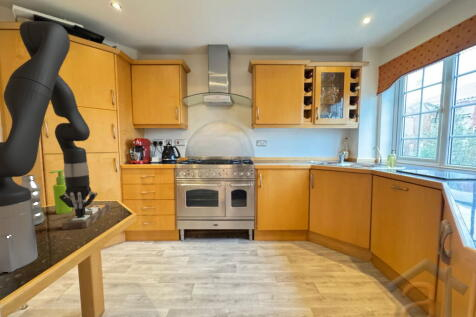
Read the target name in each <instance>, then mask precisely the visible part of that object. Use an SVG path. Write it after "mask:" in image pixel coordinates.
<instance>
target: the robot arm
mask: <svg viewBox="0 0 476 317" xmlns="http://www.w3.org/2000/svg"><path fill="white" fill-rule="evenodd" d="M19 34H20V35H19V36H20V37H21V40H22V43H23V45H24V46H25V49H26V51H27V53H28V55H29V57H30V58H29V59H28V60H26V61H24V62H23V63H22V64H21V65H20V66H18V67H17V68H16V69H15V70H14V71H13V72H12V73H11V74H10V76H9V79H8V81H7V82H6V83H7V84H6V86H5V89H4V92H3V100H4V104H5V106H6V108H7V111H8V113H9V115H10V118H11V127H10V131H9V134H8V135H7V138H6V139H5V141H0V274H3V273H2V272H8V273H12V272H14V271H15V270H17V269H20V268H23V267H25V266H27V265H30V264H31V263H33V262H34V261H36V259H38V257H39V255H38V244H37V243H38V242H37V237H36V236H37V235H36V228H35V226H36V225H34V217H33V207H32V199H31V192H30V190H29V189H28V188H25V187H23V186H20V185H21V184H18V183H17V182H15V181H14V179H13V178H18V177H19V178H20V177H21V176H26V175H28V174H29V173H30V172H31V171H32V170H33V169H34V167H35V164H36V162H37V158H38V153H39V147H40V141H41V140H40V139H41V134H42V129H43V125H44V121H45V116H46V115H47V114H46V113H47V110H48V108H49V105H50V103H51V106H52V109H53V112H54V114H55V115H56V116H57V117H60V118H63V119H66V120H67V121H68V122H60V123H58V124H57V125H56V126H55V129H54V136H55V139H56V141H57V143H58V145H59V147H60V150H61V152H62V154H63V155H62V157H63V170H64V171H63V176H64V177H65V186H66V191H65V194H63V195H61V196H59V198H60V199H61V200H62V201H63V202H64V203H65V204H66V205H67V206H68V207H70V208H71V207H72V209H74V211H75V213H74V214H75V216H77V218H82V217H83V216H84V215H85V214H86V213H85V208H87V207H89V206H90V205H91V204H92V202H93V201H94V200H95V199H96V197H97V196H98V192H94V191H92V188H91V187H90V171H89V165H88V159H87V151H86V149H85V147H81V146H77V144H76V143H75V142H84V141H87V140H88V139H89V137H90V135H91V134H90V133H91V132H90V127H89V126H88V124H87V122H86V120H85V119H84V117H83V116H82V114H81V113H80V111H79V109H78V104H77V101H76V97H75V93H74V91H73V90H72V88H71V87H70V85H69V84H68V83H67V82H66V80H64V79H63V78H62V76H61V75H60V74H59V73H60V70H61V69H62V67H63V64H64V62H65V60H66V58H67V56H68V54H69V52H70V48H71V40H70V36H69V33H68V31H67V30H66V29H65V28H64V26H63V25H61V24H59V23H57V22H53V21H41V20H40V21H37V20H34V21H33V20H32V21H29V20H28V21H27V20H26V21H23V22H22V23H20V24H19ZM69 197H70V198H71V199H70V198H69ZM87 197H88V199H87Z"/></svg>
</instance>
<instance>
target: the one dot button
mask: <svg viewBox="0 0 476 317" xmlns="http://www.w3.org/2000/svg"><path fill="white" fill-rule="evenodd" d="M93 205H94V206H93V207H98V209H102V208H103V207H105V205H106V204H93ZM90 207H91V206H90ZM91 208H92V207H91Z"/></svg>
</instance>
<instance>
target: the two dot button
mask: <svg viewBox="0 0 476 317" xmlns="http://www.w3.org/2000/svg"><path fill="white" fill-rule="evenodd" d="M75 216H76V215H75ZM88 217H90V215H84V216H83V217H82V218H77V216H76V217H75V218H73V219H72V220H71V221H82V220H85V219H87V218H88Z"/></svg>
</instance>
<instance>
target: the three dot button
mask: <svg viewBox="0 0 476 317" xmlns="http://www.w3.org/2000/svg"><path fill="white" fill-rule="evenodd" d="M97 211H98V207H92V208H89V207H85V213H86V214H85V215H90V214H94V213H96V212H97Z"/></svg>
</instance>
